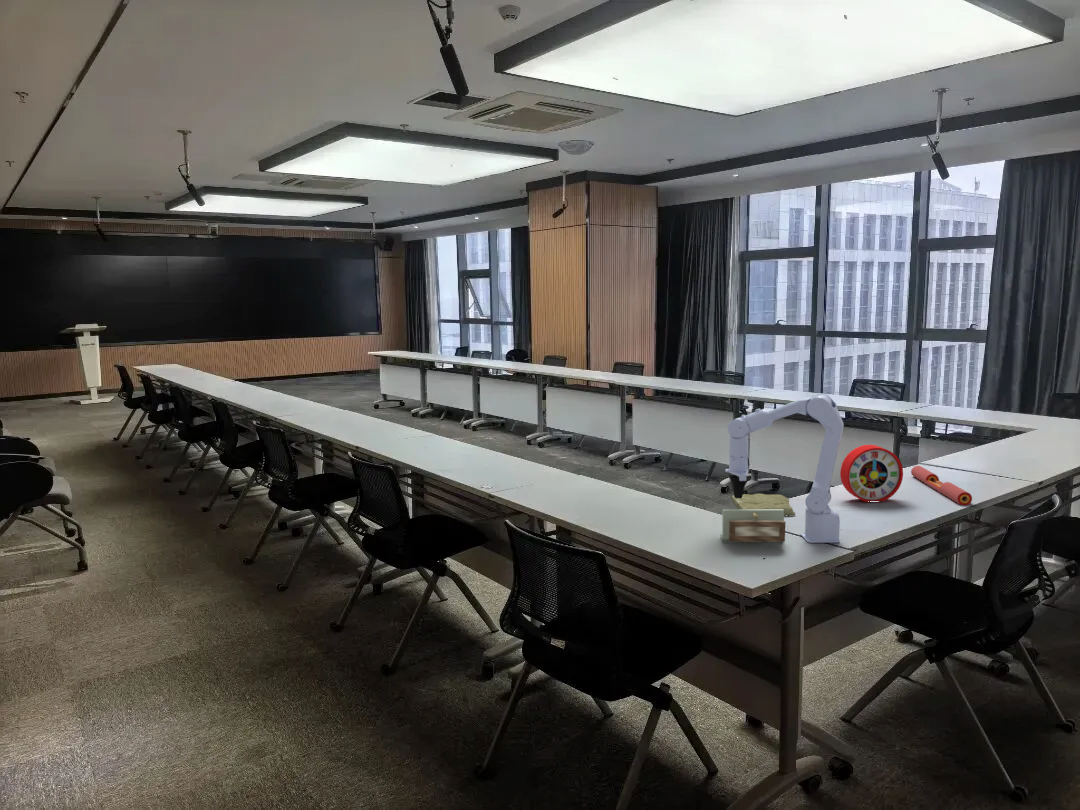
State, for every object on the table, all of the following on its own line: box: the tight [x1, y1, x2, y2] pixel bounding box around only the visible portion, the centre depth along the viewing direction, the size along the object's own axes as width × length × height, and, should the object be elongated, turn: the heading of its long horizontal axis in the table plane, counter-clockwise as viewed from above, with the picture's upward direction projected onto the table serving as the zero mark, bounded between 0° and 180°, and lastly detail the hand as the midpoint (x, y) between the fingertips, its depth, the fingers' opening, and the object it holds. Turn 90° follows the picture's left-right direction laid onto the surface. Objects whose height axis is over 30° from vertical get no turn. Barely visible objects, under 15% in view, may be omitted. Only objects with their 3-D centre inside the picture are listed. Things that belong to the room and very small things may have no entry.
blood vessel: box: [910, 465, 973, 506], centre depth 277 cm, size 42×5×5 cm, turn 174°
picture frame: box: [729, 520, 786, 543], centre depth 217 cm, size 16×2×6 cm, turn 86°
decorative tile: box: [731, 493, 796, 517], centre depth 258 cm, size 19×20×4 cm
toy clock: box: [839, 444, 904, 503], centre depth 264 cm, size 20×6×20 cm, turn 91°
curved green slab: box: [720, 508, 785, 543], centre depth 222 cm, size 18×8×10 cm, turn 86°
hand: (738, 497), depth 234 cm, fingers closed
